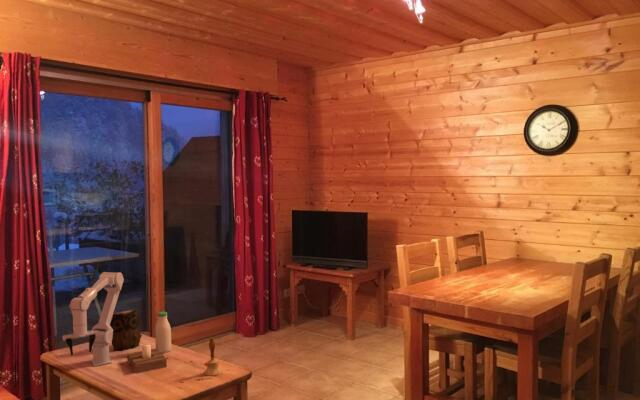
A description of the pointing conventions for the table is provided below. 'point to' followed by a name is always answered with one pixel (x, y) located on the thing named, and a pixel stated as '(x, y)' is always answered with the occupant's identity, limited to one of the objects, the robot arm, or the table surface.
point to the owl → (125, 330)
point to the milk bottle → (163, 333)
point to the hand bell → (212, 362)
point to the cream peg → (146, 351)
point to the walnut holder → (146, 361)
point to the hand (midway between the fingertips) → (81, 353)
